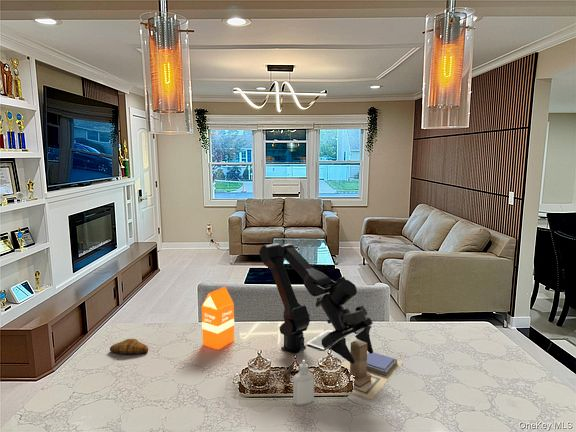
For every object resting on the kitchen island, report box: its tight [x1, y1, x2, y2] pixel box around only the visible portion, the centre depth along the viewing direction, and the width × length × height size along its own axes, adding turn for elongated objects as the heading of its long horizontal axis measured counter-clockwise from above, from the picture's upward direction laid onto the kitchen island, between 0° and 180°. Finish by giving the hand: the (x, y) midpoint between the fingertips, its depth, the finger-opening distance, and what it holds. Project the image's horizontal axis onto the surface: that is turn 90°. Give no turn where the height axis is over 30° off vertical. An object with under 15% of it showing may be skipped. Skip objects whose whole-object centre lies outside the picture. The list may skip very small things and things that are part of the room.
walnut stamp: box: [349, 339, 371, 388], centre depth 119 cm, size 6×6×12 cm
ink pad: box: [367, 351, 398, 376], centre depth 129 cm, size 10×10×2 cm
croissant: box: [109, 338, 149, 356], centre depth 138 cm, size 14×7×5 cm, turn 86°
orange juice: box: [201, 286, 235, 350], centre depth 144 cm, size 8×9×20 cm
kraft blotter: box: [341, 351, 404, 400], centre depth 126 cm, size 16×26×1 cm, turn 145°
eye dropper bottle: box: [292, 359, 315, 406], centre depth 109 cm, size 4×6×12 cm
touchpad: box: [305, 329, 334, 350], centre depth 147 cm, size 8×15×2 cm, turn 142°
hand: (363, 358), depth 118 cm, fingers open, 9 cm apart
